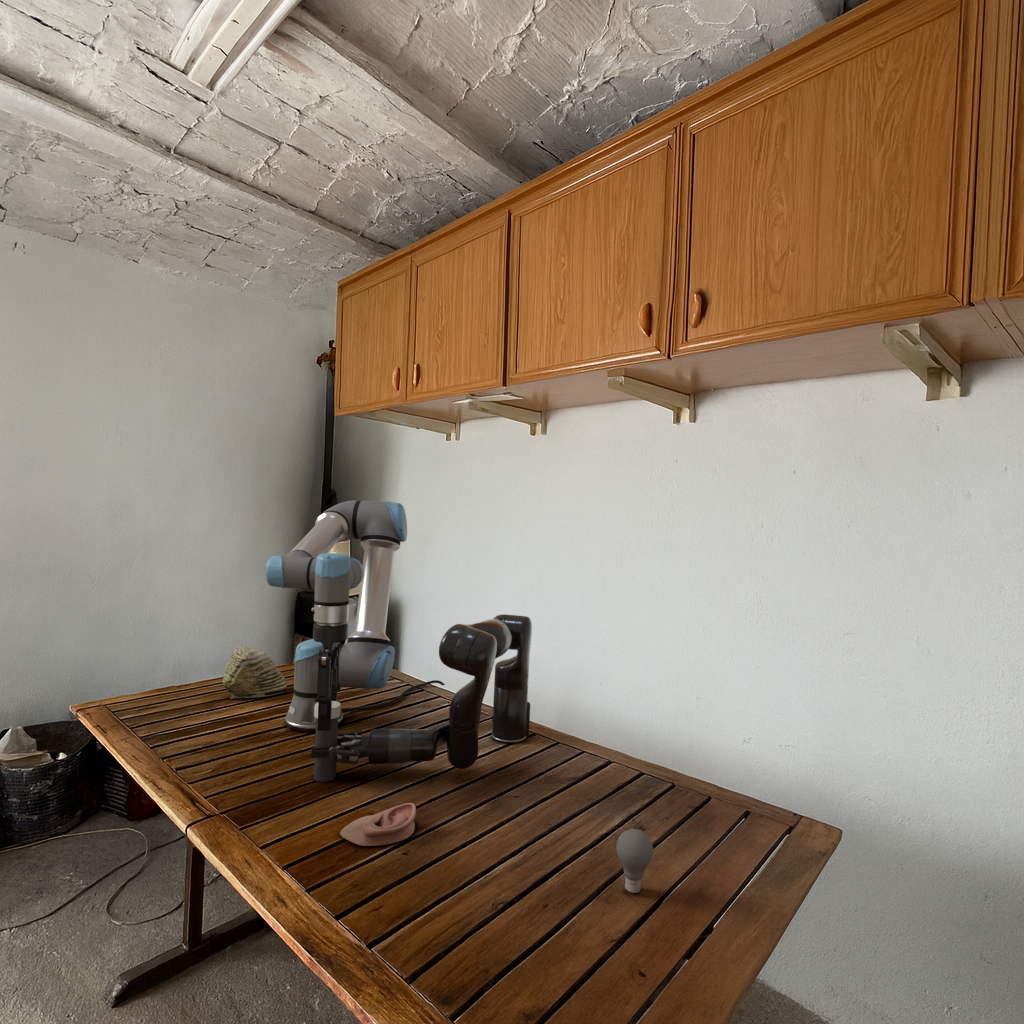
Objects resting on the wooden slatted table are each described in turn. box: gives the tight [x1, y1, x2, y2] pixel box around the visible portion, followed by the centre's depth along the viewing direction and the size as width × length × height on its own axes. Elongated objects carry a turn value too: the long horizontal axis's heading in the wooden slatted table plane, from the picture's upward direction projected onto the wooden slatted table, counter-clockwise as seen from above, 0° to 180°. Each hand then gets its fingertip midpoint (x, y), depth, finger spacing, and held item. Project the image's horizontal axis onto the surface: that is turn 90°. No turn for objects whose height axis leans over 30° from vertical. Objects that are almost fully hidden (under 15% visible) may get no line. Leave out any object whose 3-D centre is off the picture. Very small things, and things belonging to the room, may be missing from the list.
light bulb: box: [615, 828, 654, 894], centre depth 106 cm, size 6×6×10 cm
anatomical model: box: [339, 802, 417, 847], centre depth 121 cm, size 13×4×12 cm
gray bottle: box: [313, 717, 339, 783], centre depth 143 cm, size 5×5×16 cm
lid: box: [314, 701, 342, 719], centre depth 143 cm, size 6×6×2 cm
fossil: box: [222, 646, 288, 699], centre depth 198 cm, size 9×18×15 cm, turn 132°
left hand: (326, 724), depth 143 cm, fingers closed on lid, 6 cm apart
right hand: (313, 747), depth 142 cm, fingers closed on gray bottle, 4 cm apart
